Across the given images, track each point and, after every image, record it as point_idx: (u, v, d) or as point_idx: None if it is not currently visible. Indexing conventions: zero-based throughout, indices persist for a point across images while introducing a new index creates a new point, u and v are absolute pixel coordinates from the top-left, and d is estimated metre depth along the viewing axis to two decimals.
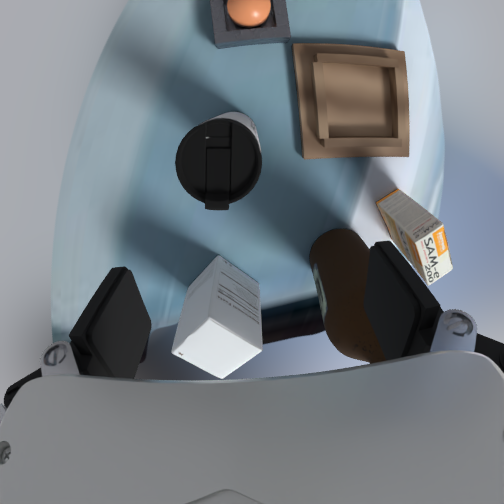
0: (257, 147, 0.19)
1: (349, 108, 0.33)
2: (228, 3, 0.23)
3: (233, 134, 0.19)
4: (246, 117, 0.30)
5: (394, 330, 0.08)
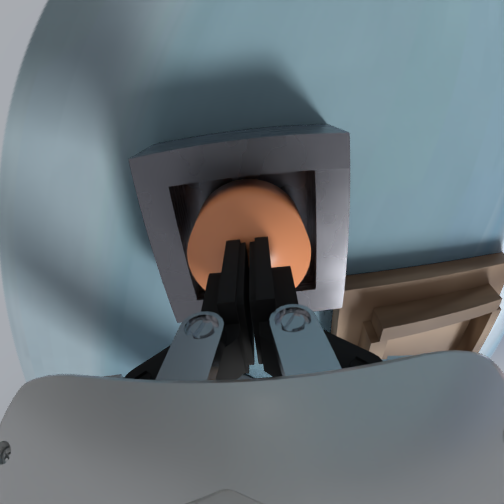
0: None
1: None
2: (190, 252, 0.11)
3: None
4: None
5: None
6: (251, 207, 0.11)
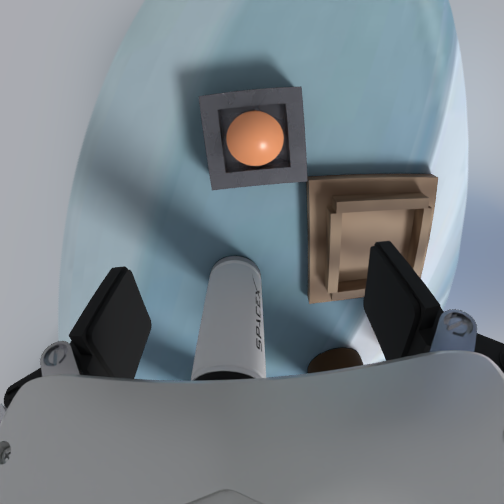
0: None
1: (364, 252, 0.33)
2: (228, 135, 0.24)
3: None
4: (250, 287, 0.30)
5: (394, 330, 0.08)
6: (256, 114, 0.23)
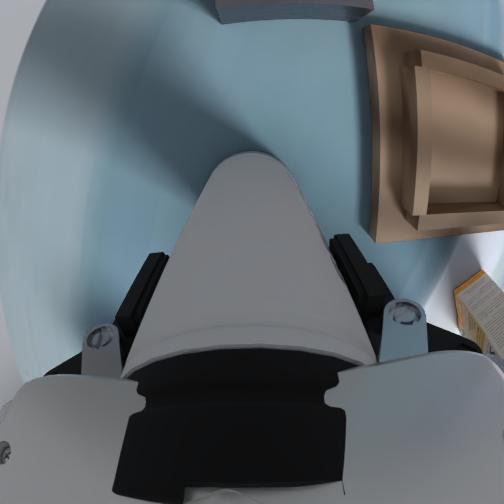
0: None
1: (453, 156, 0.17)
2: None
3: None
4: (288, 179, 0.14)
5: None
6: None
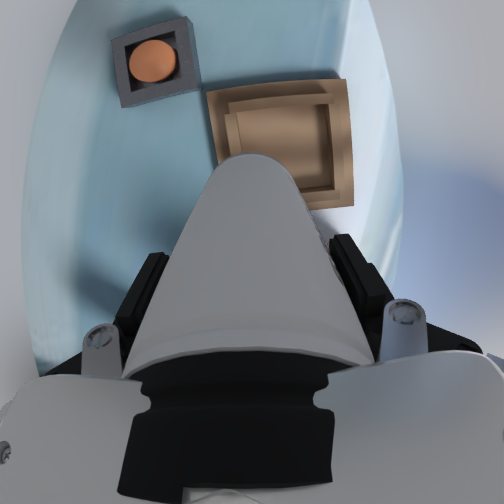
0: None
1: None
2: (130, 62, 0.24)
3: None
4: (287, 180, 0.14)
5: None
6: (150, 42, 0.23)
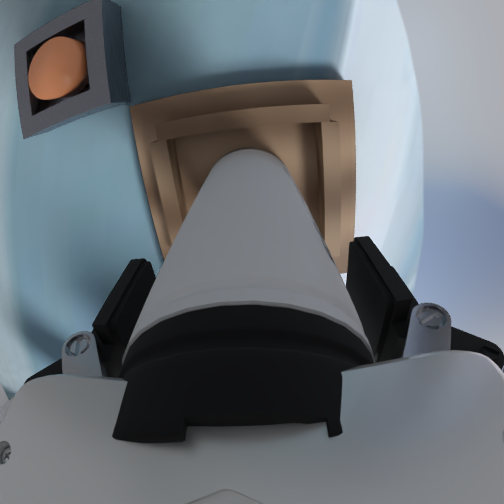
0: None
1: None
2: (29, 73, 0.13)
3: None
4: (283, 173, 0.15)
5: (370, 324, 0.08)
6: (52, 41, 0.12)
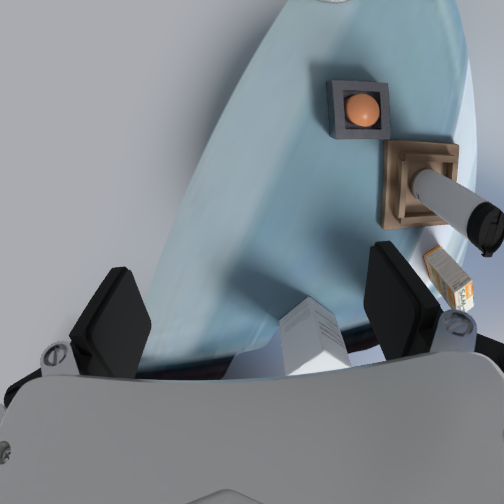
0: None
1: None
2: (349, 106, 0.36)
3: (500, 217, 0.26)
4: None
5: (394, 331, 0.08)
6: (365, 96, 0.35)
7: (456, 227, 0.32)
